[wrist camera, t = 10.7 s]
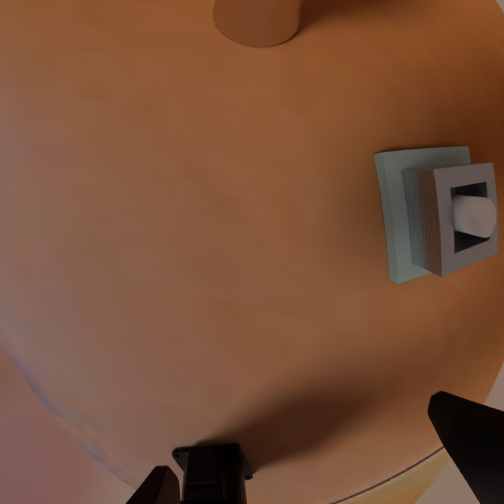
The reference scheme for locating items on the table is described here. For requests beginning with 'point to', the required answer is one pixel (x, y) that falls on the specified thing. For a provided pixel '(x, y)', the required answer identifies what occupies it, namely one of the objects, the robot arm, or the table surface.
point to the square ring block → (446, 215)
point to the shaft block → (395, 213)
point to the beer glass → (258, 20)
